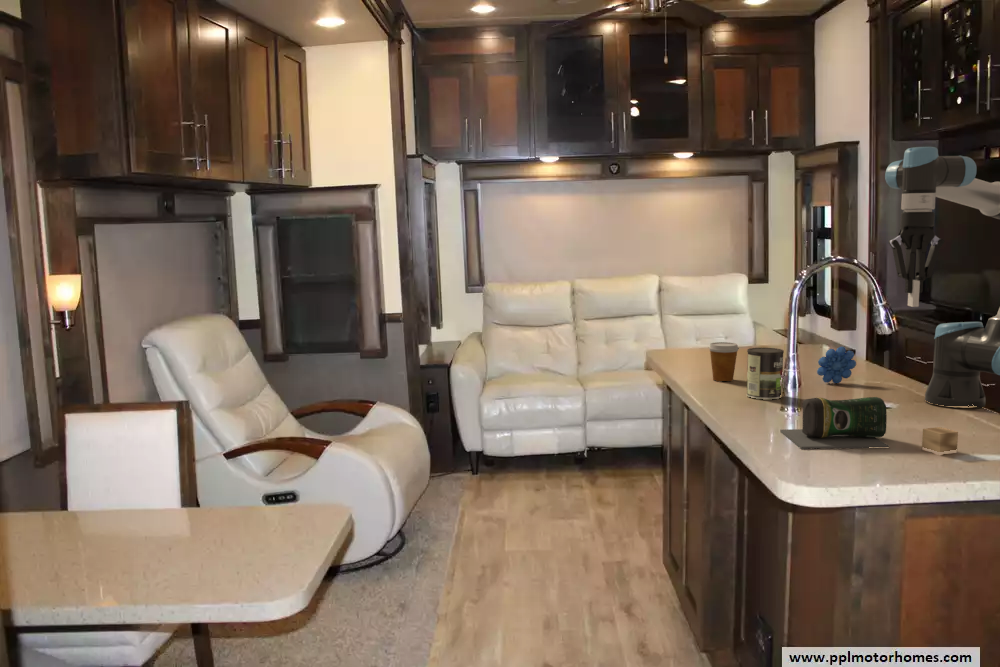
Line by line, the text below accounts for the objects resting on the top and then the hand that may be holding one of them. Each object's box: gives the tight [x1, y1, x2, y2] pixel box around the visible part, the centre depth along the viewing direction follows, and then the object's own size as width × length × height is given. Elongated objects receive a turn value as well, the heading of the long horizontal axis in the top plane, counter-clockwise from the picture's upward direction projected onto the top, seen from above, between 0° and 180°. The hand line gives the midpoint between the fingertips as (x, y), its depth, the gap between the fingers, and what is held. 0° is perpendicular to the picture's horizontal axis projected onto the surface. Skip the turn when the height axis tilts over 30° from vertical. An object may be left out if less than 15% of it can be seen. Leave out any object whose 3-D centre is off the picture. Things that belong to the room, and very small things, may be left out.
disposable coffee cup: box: [708, 341, 739, 382], centre depth 280 cm, size 10×10×12 cm
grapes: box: [816, 346, 857, 384], centre depth 272 cm, size 12×7×12 cm, turn 78°
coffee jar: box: [802, 396, 888, 439], centre depth 205 cm, size 10×8×19 cm
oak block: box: [921, 426, 959, 452], centre depth 193 cm, size 5×5×5 cm
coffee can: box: [746, 347, 784, 401], centre depth 254 cm, size 10×10×14 cm
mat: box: [780, 428, 890, 450], centre depth 205 cm, size 20×16×1 cm
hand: (913, 306), depth 214 cm, fingers closed
